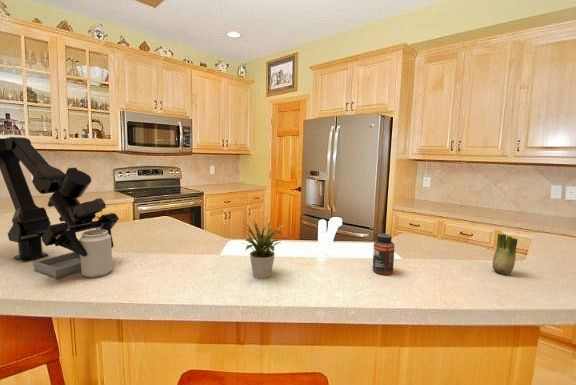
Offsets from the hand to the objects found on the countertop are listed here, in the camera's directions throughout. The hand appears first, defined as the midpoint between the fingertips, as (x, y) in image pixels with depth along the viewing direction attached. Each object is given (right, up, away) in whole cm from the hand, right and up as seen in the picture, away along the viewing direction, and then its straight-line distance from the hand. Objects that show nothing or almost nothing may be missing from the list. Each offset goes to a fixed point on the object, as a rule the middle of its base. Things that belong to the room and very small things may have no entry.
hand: (99, 251), depth 84 cm
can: (-1, -7, +1) cm, 7 cm away
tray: (-12, -6, +5) cm, 14 cm away
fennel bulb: (+117, -8, +9) cm, 118 cm away
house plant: (+43, -7, +3) cm, 44 cm away
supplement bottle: (+81, -8, +7) cm, 81 cm away
